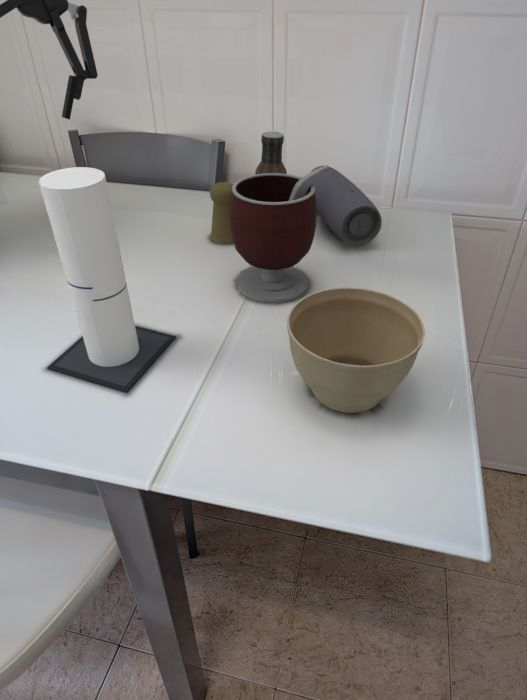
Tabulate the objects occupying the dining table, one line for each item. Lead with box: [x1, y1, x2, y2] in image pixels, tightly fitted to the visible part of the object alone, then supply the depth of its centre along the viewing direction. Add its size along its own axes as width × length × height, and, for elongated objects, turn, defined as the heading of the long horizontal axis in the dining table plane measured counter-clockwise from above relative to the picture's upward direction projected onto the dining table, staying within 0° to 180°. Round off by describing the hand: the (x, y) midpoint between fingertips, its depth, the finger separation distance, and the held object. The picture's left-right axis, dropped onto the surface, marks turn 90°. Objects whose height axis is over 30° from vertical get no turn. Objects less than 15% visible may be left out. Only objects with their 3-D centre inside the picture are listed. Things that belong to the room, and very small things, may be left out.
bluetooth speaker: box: [310, 165, 383, 247], centre depth 102 cm, size 23×9×10 cm, turn 14°
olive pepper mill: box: [209, 181, 234, 245], centre depth 98 cm, size 6×6×11 cm
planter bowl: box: [286, 286, 426, 414], centre depth 62 cm, size 16×16×11 cm
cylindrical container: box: [38, 166, 139, 367], centre depth 64 cm, size 7×7×25 cm
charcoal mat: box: [46, 325, 177, 394], centre depth 71 cm, size 13×13×1 cm
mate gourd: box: [230, 164, 330, 304], centre depth 81 cm, size 16×14×20 cm
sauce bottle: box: [254, 130, 288, 175], centre depth 95 cm, size 6×6×20 cm
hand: (20, 103), depth 78 cm, fingers open, 13 cm apart
